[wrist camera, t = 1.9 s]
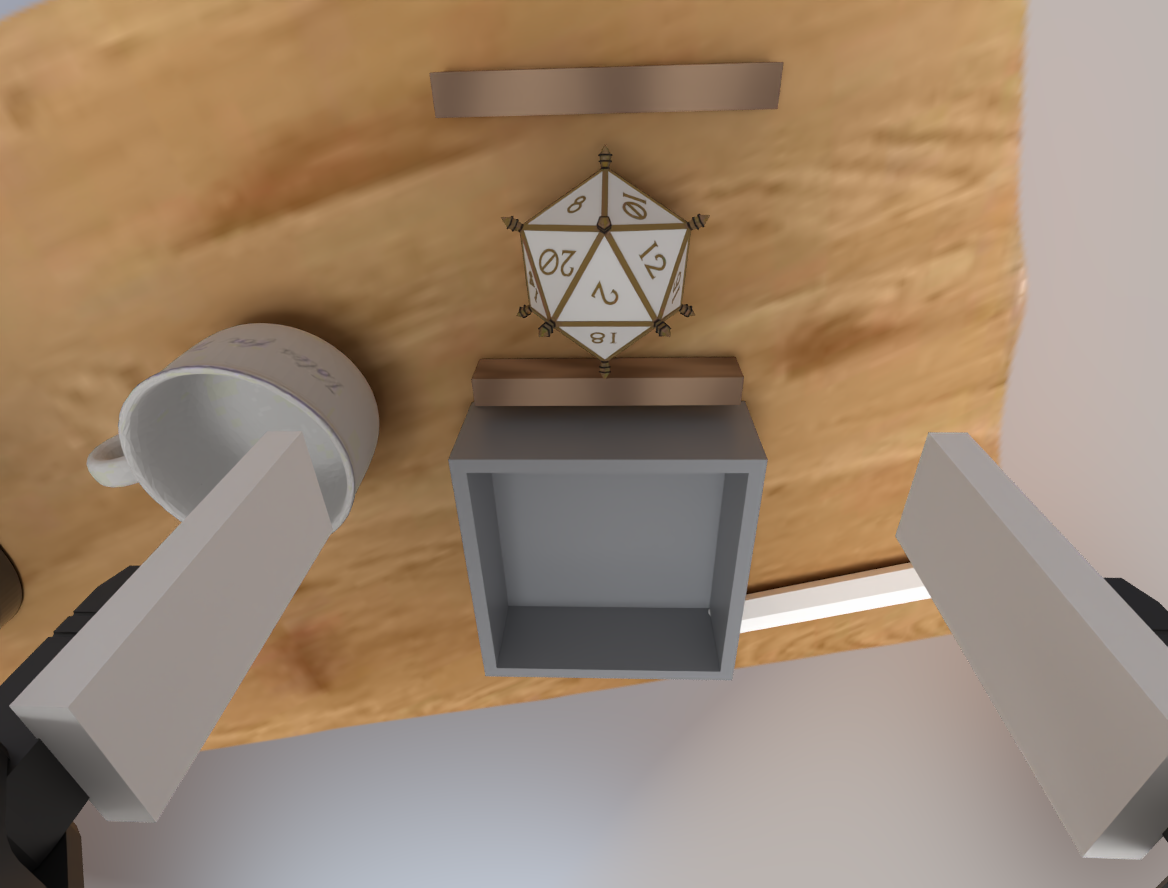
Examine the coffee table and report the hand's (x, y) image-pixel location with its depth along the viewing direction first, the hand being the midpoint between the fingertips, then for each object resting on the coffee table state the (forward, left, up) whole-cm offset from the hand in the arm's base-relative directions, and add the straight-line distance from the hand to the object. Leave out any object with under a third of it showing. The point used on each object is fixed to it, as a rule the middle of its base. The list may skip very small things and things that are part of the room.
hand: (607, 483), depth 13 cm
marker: (+13, -23, -20) cm, 33 cm away
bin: (0, -17, -20) cm, 26 cm away
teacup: (-19, -8, -20) cm, 29 cm away
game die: (0, 0, -20) cm, 20 cm away
